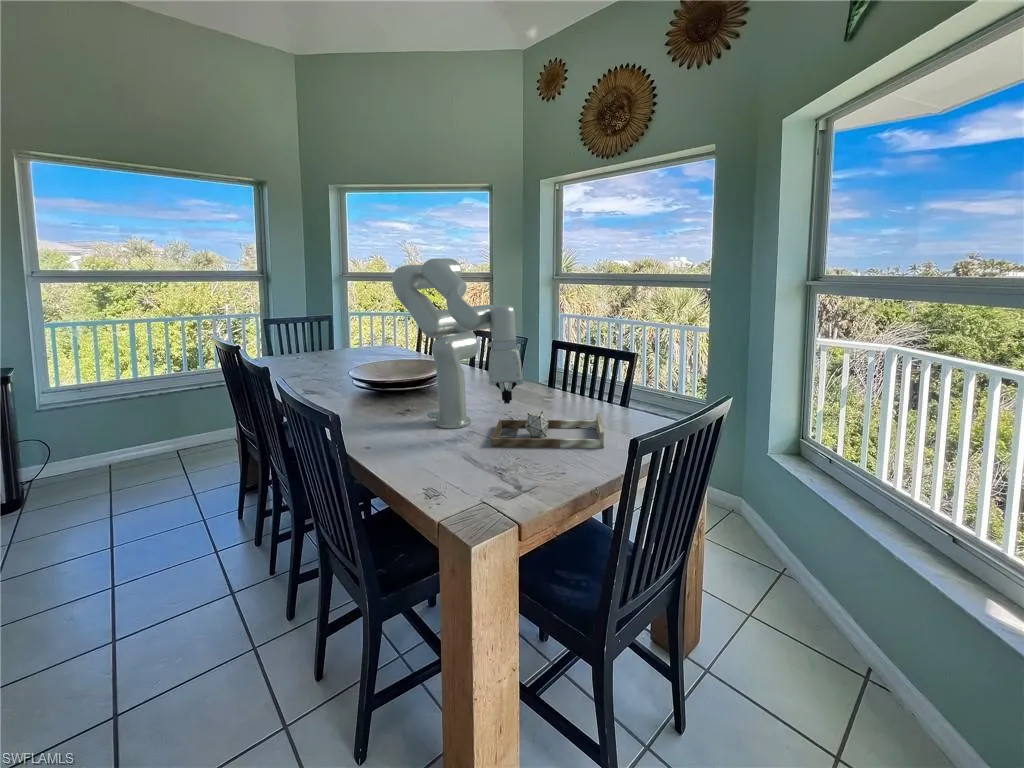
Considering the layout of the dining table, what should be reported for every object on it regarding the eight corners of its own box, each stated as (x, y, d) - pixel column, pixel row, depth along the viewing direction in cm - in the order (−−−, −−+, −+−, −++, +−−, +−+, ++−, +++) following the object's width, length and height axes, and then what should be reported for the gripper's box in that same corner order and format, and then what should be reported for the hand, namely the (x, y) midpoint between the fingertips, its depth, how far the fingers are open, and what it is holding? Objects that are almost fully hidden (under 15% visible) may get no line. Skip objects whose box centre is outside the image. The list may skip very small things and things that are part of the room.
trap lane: (491, 446, 154) (490, 431, 153) (499, 426, 173) (499, 412, 172) (603, 448, 150) (603, 432, 149) (599, 427, 170) (599, 413, 168)
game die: (541, 449, 162) (548, 431, 154) (517, 439, 162) (523, 420, 155) (549, 428, 167) (556, 410, 160) (526, 419, 168) (532, 400, 161)
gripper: (478, 348, 154) (482, 406, 157) (527, 346, 152) (529, 405, 156) (482, 344, 161) (486, 400, 165) (529, 343, 159) (531, 399, 163)
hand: (507, 402), depth 160 cm, fingers closed
